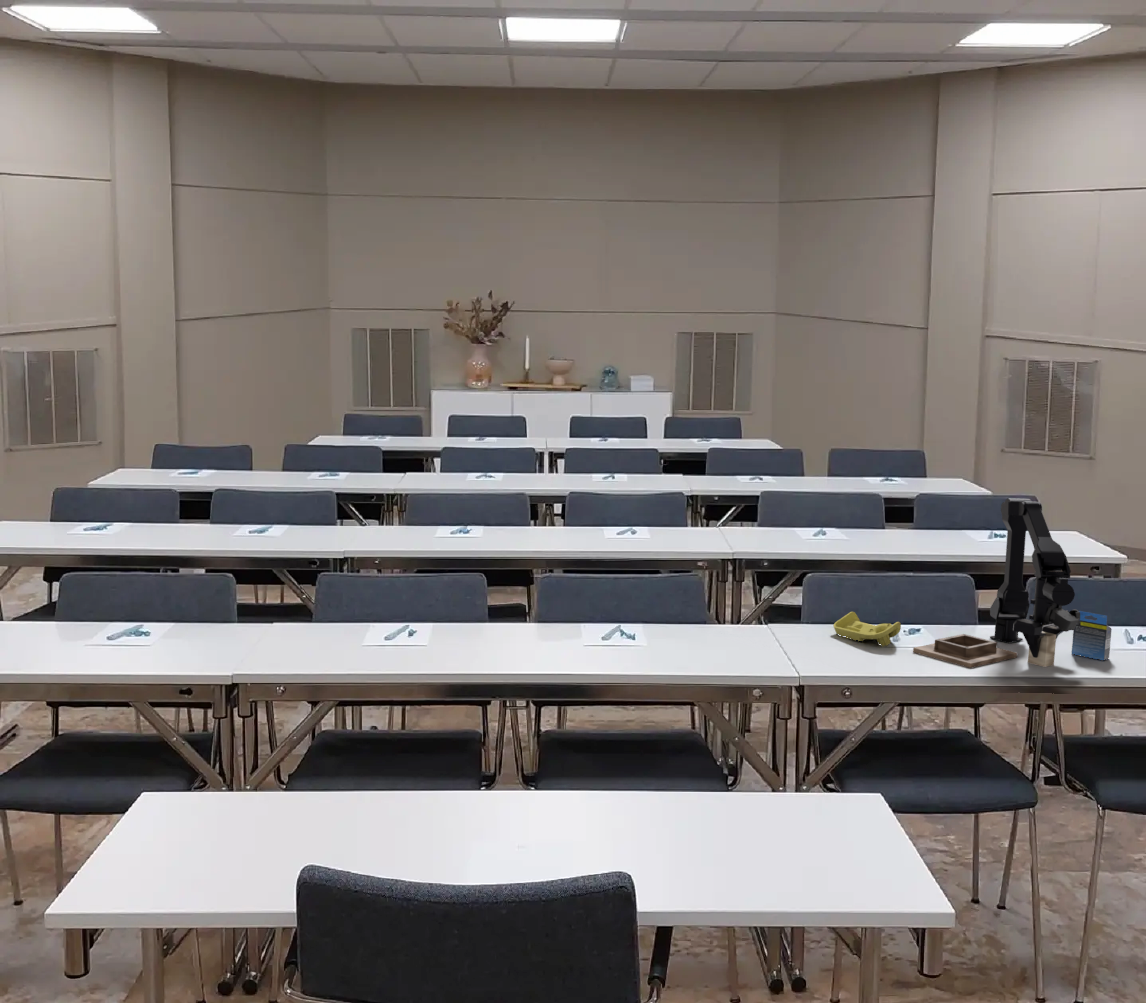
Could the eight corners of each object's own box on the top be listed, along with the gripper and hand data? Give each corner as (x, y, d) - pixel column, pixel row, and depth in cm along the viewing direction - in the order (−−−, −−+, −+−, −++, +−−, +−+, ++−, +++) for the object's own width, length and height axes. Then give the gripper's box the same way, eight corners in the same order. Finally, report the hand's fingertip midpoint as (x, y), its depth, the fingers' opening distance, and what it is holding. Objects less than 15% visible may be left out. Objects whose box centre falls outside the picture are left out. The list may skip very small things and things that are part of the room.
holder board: (959, 642, 352) (960, 629, 352) (1017, 657, 338) (1018, 643, 338) (913, 652, 340) (914, 638, 340) (970, 668, 326) (971, 653, 326)
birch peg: (1036, 660, 336) (1039, 630, 335) (1053, 664, 332) (1056, 634, 331) (1027, 662, 333) (1030, 632, 332) (1044, 667, 329) (1047, 636, 328)
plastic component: (829, 626, 357) (855, 608, 361) (838, 648, 359) (864, 630, 363) (876, 637, 340) (903, 618, 343) (885, 661, 341) (912, 642, 345)
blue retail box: (1109, 659, 339) (1114, 613, 337) (1103, 661, 336) (1107, 615, 335) (1076, 652, 345) (1080, 607, 344) (1070, 654, 343) (1074, 609, 341)
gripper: (1053, 607, 318) (1048, 668, 320) (1095, 599, 329) (1089, 658, 331) (1014, 598, 327) (1009, 658, 329) (1056, 590, 338) (1051, 648, 340)
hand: (1041, 656), depth 332 cm, fingers open, 5 cm apart
